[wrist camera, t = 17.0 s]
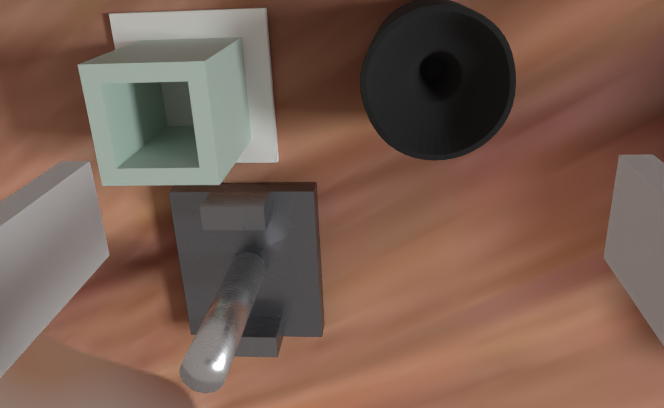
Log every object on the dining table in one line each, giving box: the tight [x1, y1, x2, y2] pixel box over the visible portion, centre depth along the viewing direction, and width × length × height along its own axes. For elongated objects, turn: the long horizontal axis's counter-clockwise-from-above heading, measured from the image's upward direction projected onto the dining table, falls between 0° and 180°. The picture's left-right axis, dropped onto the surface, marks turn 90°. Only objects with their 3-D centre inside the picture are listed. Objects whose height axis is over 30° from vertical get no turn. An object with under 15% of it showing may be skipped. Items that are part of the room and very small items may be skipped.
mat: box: [109, 8, 279, 163], centre depth 48 cm, size 12×12×1 cm
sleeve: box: [78, 37, 252, 186], centre depth 43 cm, size 8×8×10 cm
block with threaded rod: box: [168, 182, 324, 393], centre depth 46 cm, size 14×12×16 cm
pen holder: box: [360, 0, 516, 160], centre depth 41 cm, size 9×9×10 cm
